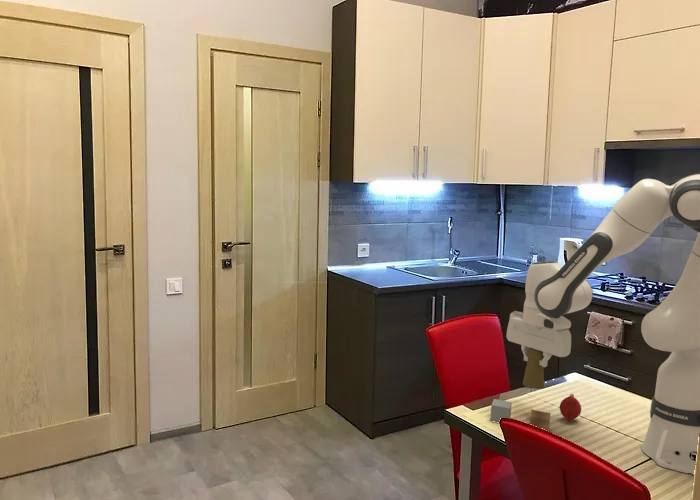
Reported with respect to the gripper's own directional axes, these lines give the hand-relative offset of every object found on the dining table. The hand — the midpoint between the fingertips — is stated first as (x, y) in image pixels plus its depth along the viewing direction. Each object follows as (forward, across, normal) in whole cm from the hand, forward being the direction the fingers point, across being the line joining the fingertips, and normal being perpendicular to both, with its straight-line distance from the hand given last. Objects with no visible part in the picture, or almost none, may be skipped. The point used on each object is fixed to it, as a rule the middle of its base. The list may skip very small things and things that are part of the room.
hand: (535, 363), depth 172 cm
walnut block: (+16, +8, -7) cm, 19 cm away
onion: (+16, +8, +7) cm, 19 cm away
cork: (+7, 0, 0) cm, 7 cm away
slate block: (+16, -2, -11) cm, 19 cm away
